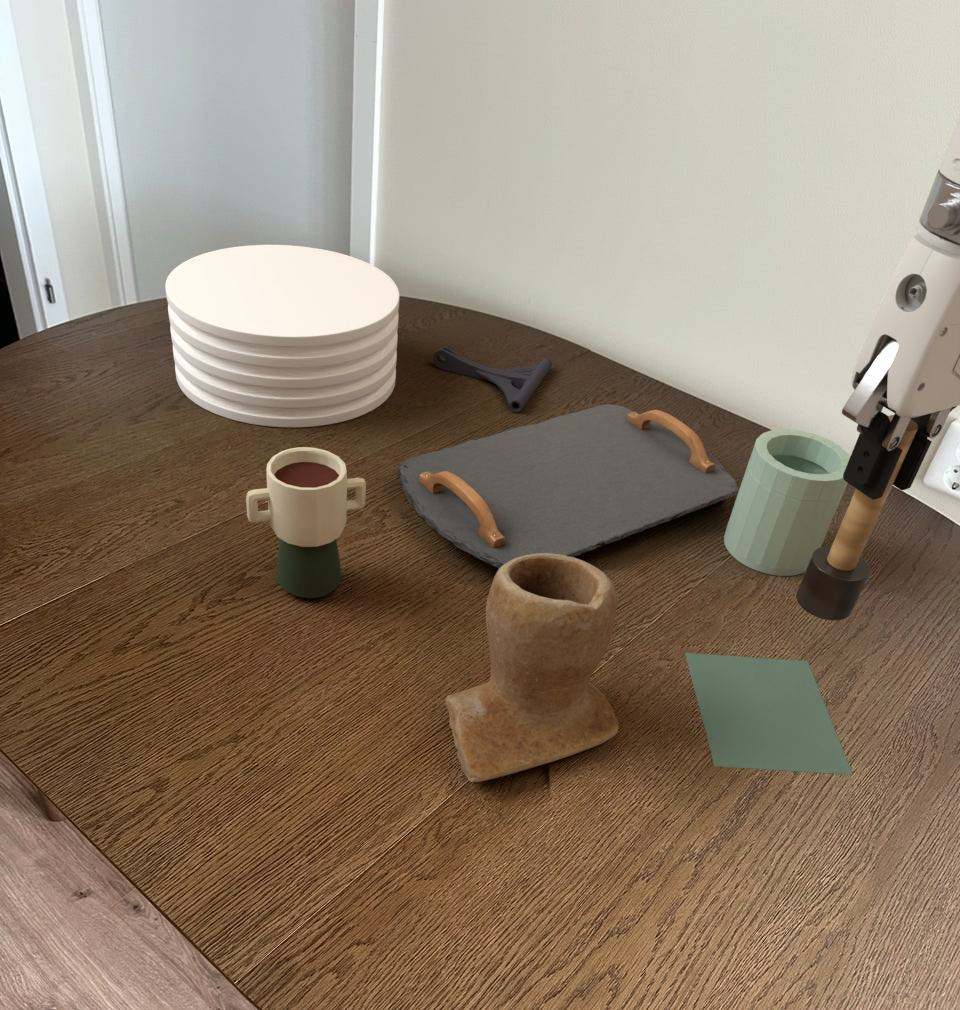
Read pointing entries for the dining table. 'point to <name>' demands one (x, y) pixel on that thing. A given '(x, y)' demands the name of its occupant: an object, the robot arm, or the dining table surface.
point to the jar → (786, 501)
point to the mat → (765, 715)
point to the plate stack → (283, 334)
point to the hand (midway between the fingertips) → (876, 482)
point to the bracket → (498, 375)
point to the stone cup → (538, 669)
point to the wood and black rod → (846, 553)
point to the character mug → (307, 516)
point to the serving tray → (564, 483)
